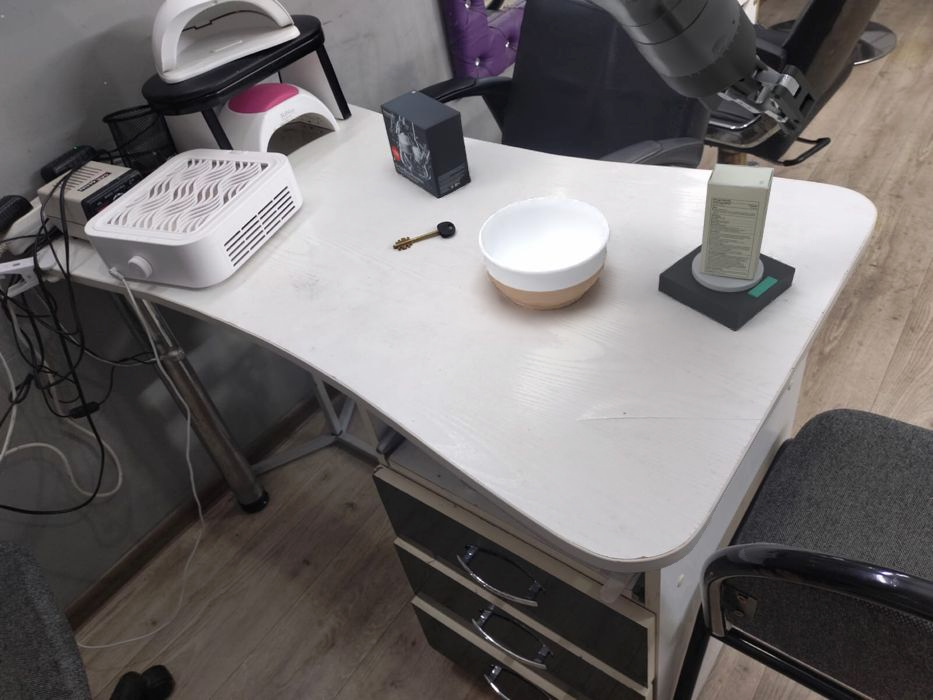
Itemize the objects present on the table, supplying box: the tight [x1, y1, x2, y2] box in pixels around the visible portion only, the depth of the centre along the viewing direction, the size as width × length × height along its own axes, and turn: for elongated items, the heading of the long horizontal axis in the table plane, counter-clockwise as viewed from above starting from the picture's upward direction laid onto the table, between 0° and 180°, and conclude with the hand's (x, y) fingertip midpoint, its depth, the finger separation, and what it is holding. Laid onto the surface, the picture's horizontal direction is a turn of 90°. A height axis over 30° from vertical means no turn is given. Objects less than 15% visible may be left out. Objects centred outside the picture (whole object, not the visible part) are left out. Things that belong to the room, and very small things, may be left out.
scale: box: [657, 243, 797, 332], centre depth 82 cm, size 11×11×3 cm
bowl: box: [477, 196, 611, 311], centre depth 86 cm, size 16×16×8 cm
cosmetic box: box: [699, 163, 775, 280], centre depth 76 cm, size 6×4×12 cm
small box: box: [379, 88, 472, 199], centre depth 108 cm, size 13×7×12 cm, turn 37°
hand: (754, 113), depth 66 cm, fingers open, 8 cm apart
